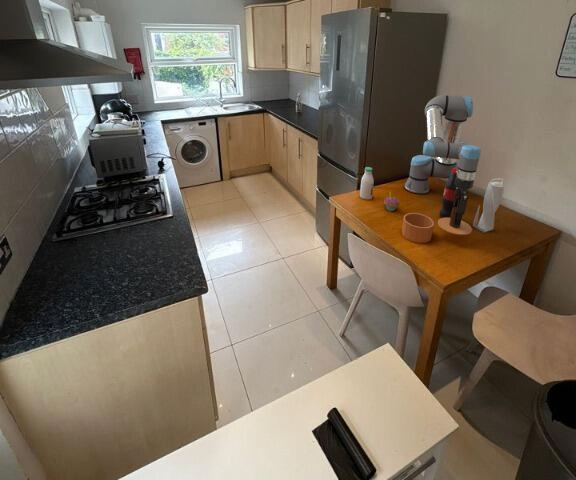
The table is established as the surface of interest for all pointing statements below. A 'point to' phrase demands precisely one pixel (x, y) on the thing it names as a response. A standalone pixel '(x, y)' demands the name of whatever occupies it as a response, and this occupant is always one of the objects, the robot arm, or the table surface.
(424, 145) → the robot arm
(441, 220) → the orange lid with handle
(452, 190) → the cola bottle
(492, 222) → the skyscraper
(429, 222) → the tan hollow cylinder
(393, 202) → the cupcake
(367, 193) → the milk bottle
